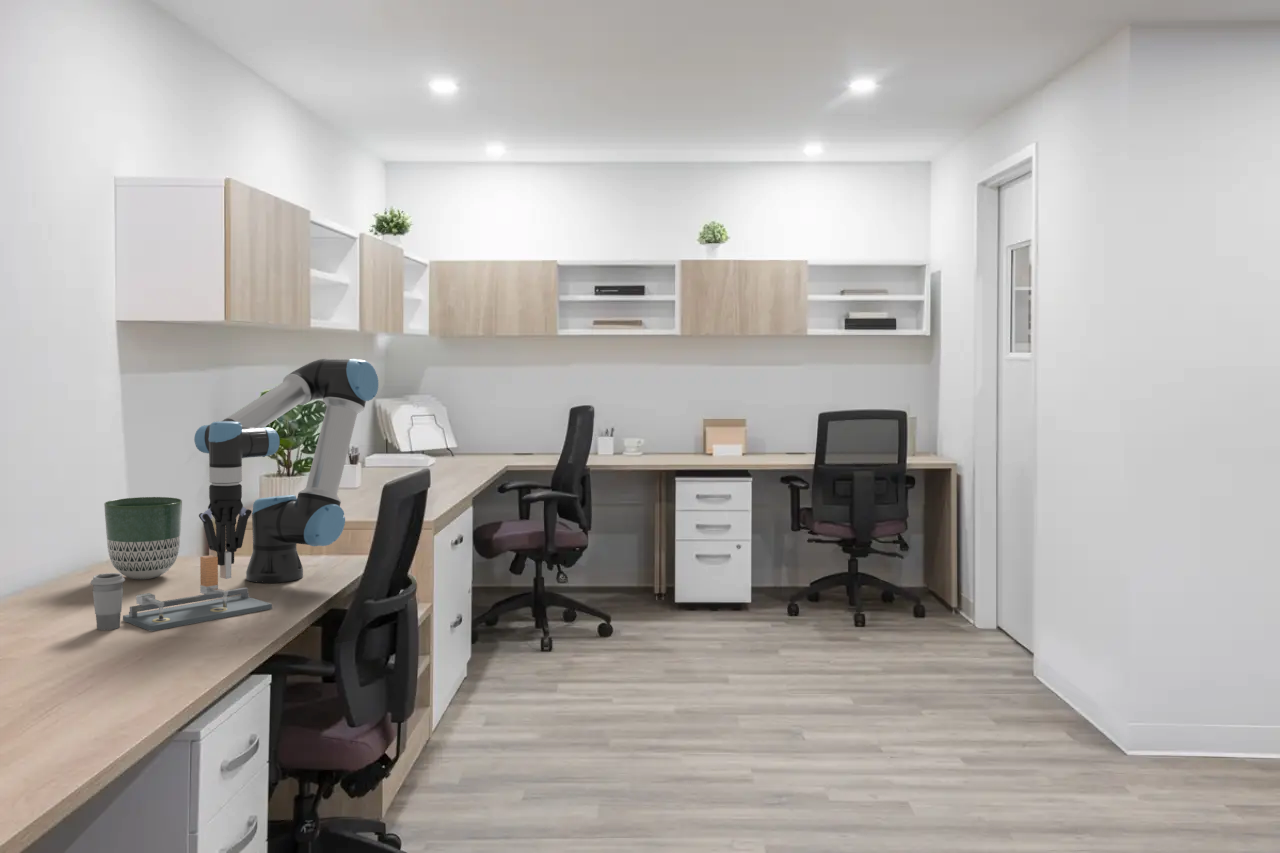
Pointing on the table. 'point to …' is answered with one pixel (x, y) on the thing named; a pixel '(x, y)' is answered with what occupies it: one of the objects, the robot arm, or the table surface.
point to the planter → (143, 535)
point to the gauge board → (196, 613)
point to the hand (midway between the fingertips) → (225, 577)
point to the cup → (108, 600)
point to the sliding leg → (210, 577)
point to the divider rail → (176, 601)
